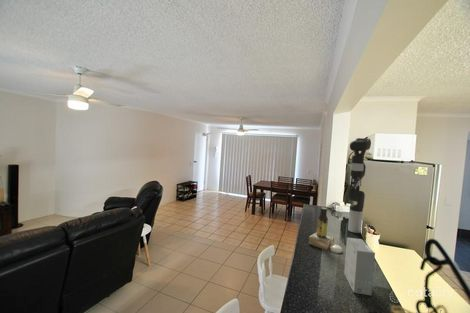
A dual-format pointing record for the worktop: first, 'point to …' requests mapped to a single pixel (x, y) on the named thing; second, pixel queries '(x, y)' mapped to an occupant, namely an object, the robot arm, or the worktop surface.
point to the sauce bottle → (322, 223)
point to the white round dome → (335, 248)
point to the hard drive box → (359, 266)
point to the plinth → (321, 241)
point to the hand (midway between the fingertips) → (355, 193)
